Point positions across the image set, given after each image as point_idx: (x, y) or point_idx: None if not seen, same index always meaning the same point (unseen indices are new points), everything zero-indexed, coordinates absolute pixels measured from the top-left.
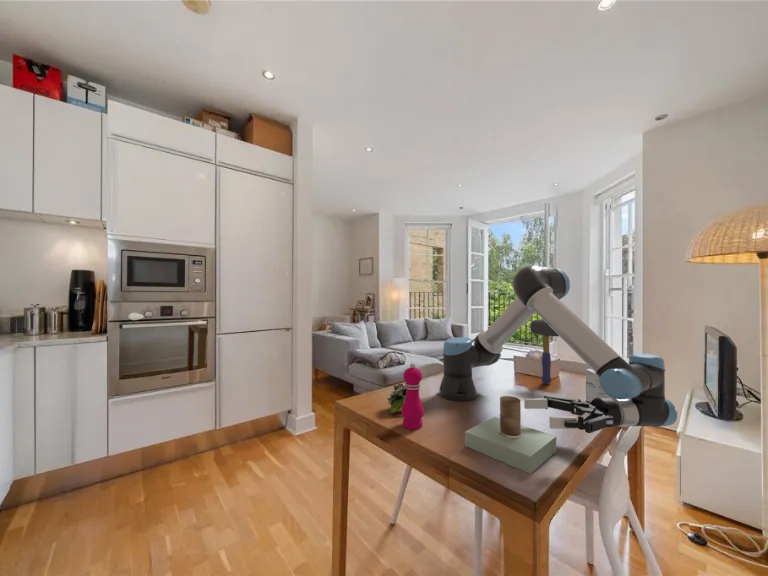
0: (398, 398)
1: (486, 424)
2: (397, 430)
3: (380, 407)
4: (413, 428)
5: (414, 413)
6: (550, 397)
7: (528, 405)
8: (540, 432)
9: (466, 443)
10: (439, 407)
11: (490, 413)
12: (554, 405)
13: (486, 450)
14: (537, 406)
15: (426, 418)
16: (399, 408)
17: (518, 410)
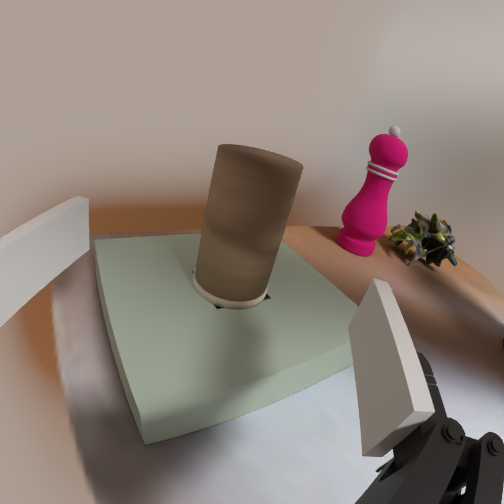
0: (429, 244)
1: (310, 276)
2: (330, 228)
3: (414, 247)
4: (337, 238)
5: (345, 210)
6: (479, 474)
7: (358, 322)
8: (206, 380)
9: None
10: (456, 311)
11: (471, 400)
12: (369, 497)
13: None
14: (364, 376)
15: (392, 272)
16: (395, 237)
17: (212, 185)
